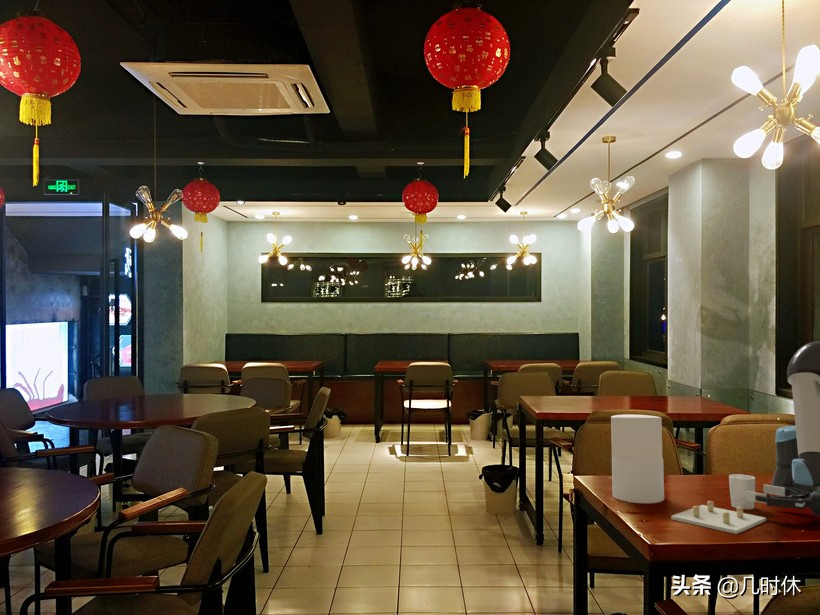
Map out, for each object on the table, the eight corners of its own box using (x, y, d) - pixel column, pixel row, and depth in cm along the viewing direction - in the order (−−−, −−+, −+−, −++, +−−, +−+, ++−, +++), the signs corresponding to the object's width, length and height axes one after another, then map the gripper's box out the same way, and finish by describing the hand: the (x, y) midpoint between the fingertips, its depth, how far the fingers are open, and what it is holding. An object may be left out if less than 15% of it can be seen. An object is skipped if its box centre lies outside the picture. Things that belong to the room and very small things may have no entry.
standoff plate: (766, 520, 202) (765, 507, 202) (736, 534, 189) (736, 520, 190) (702, 507, 218) (702, 495, 218) (671, 519, 205) (670, 506, 205)
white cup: (734, 502, 224) (733, 473, 224) (759, 506, 218) (758, 476, 219) (725, 507, 218) (725, 476, 219) (751, 511, 213) (750, 480, 213)
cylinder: (608, 490, 242) (606, 414, 243) (656, 491, 240) (654, 414, 241) (618, 502, 225) (616, 420, 226) (670, 503, 223) (668, 420, 224)
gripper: (813, 525, 190) (738, 510, 207) (843, 509, 206) (771, 497, 223) (813, 499, 191) (738, 486, 207) (842, 485, 207) (770, 474, 223)
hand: (755, 491), depth 215 cm, fingers open, 13 cm apart
